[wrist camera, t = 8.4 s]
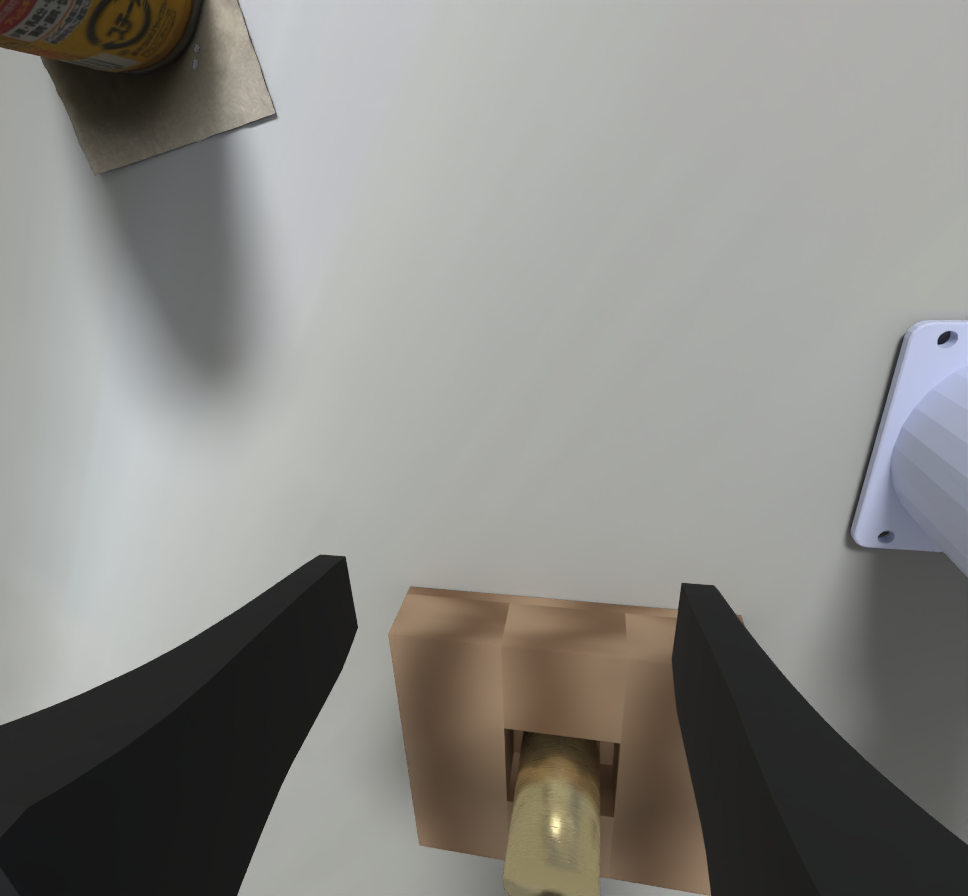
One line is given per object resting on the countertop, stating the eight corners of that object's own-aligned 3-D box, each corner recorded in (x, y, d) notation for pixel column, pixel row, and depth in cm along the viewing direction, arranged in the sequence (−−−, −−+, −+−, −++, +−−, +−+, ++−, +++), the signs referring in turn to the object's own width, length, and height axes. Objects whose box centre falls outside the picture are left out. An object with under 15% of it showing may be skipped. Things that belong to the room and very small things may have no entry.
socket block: (740, 615, 23) (760, 672, 20) (699, 829, 29) (709, 895, 26) (410, 586, 25) (388, 634, 23) (434, 788, 31) (419, 845, 28)
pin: (584, 690, 25) (579, 859, 19) (610, 742, 26) (613, 917, 20) (513, 701, 26) (487, 864, 20) (541, 750, 28) (524, 918, 21)
